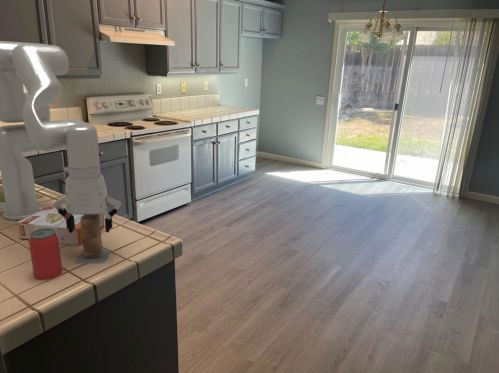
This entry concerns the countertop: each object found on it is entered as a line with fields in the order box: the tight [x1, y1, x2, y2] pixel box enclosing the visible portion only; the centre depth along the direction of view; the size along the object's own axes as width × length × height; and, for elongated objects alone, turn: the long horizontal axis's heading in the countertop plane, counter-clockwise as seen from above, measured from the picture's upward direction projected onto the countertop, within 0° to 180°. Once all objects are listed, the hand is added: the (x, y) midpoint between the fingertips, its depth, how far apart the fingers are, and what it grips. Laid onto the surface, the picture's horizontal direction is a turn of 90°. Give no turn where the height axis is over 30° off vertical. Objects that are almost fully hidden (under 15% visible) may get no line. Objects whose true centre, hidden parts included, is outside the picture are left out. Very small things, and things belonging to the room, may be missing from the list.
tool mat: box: [74, 248, 112, 265], centre depth 108 cm, size 8×8×1 cm
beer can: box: [28, 228, 63, 281], centre depth 98 cm, size 7×7×12 cm
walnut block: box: [80, 214, 103, 259], centre depth 107 cm, size 4×4×12 cm
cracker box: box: [17, 206, 105, 246], centre depth 122 cm, size 14×6×21 cm
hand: (90, 230), depth 106 cm, fingers open, 9 cm apart
